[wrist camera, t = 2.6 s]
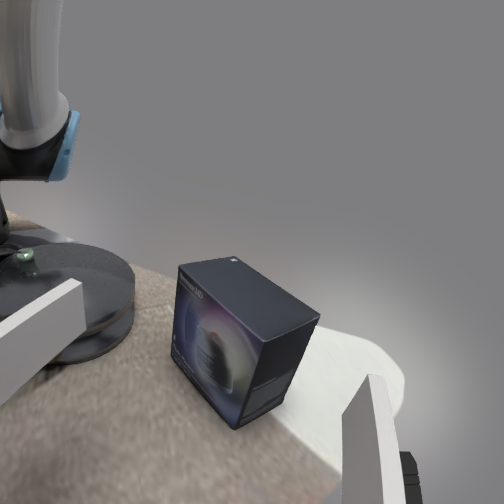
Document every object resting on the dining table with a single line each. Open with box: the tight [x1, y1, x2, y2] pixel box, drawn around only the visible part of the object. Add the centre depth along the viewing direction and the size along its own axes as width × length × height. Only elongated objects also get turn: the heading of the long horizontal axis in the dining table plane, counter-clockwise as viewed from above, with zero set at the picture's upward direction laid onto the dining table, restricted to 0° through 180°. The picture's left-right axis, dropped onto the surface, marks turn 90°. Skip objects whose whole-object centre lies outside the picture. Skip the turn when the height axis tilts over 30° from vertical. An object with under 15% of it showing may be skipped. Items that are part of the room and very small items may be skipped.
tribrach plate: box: [0, 243, 135, 365], centre depth 27 cm, size 19×18×5 cm
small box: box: [171, 256, 320, 430], centre depth 24 cm, size 11×6×10 cm, turn 42°
